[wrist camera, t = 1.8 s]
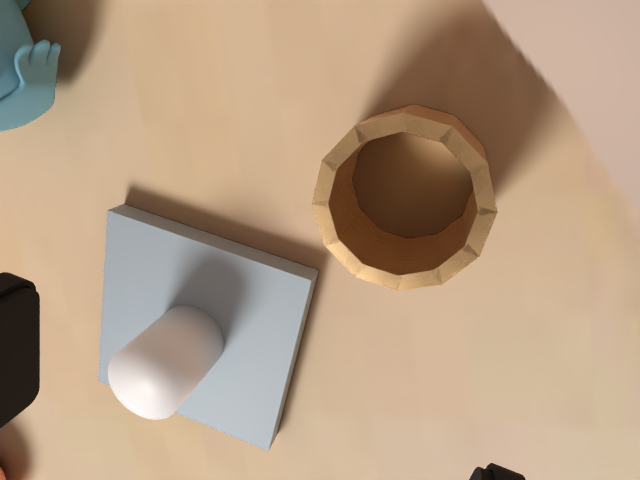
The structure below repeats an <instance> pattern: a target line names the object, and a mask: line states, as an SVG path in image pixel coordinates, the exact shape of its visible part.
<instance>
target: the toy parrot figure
mask: <svg viewBox="0 0 640 480" xmlns="http://www.w3.org/2000/svg"><path fill="white" fill-rule="evenodd" d="M29 2H30V0H0V132H1V131H5V130H10V129H14V128H17V127H20V126H23V125H25V124H27V123H29V122H31V121H33V120H35V119H36V118H38V117H39V116H41V115H42V114H43V113H45V112H46V111H47V110H48V109H49V108H50V107H51V106H52V105H53V103H54V99H55V86H56V83H57V82H56V74H57V67H58V57H59V54H60V51H61V46H60V45H59V44H58V43H54V44H53V45H52V46H50V42H49V41H48V40H46V39H44V40H41V41H40V42H38V43H37V44H35V45H34V42H33V40H32V37H31V35H30V32H29V30H28V27H27V24H26V22H25V19H24V17H23V15H22V13H21V11H22V10H23V9H24V8H25V7H26V5H27V4H28V3H29Z"/></svg>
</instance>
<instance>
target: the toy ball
mask: <svg viewBox="0 0 640 480" xmlns="http://www.w3.org/2000/svg"><path fill="white" fill-rule="evenodd" d="M0 480H6V478H5V475H4V472H3V470H2V469H1V467H0Z"/></svg>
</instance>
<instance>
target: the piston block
mask: <svg viewBox="0 0 640 480" xmlns="http://www.w3.org/2000/svg"><path fill="white" fill-rule="evenodd" d="M318 272H319V270H317V269H314V268H311V267H308V266H305V265H302V264H299V263H296V262H293V261H290V260H287V259H284V258H281V257H278V256H275V255H273V254H270V253H267V252H264V251H261V250H258V249H255V248H252V247H249V246H246V245H243V244H240V243H237V242H234V241H231V240H228V239H225V238H222V237H219V236H217V235H214V234H211V233H208V232H205V231H202V230H199V229H196V228H193V227H190V226H187V225H184V224H181V223H178V222H175V221H172V220H169V219H166V218H164V217H161V216H158V215H155V214H152V213H149V212H146V211H143V210H140V209H137V208H134V207H131V206H128V205H125V204H123V205H120V206H118V207H115V208H113V209H110V210H108V212H107V230H106V248H105V266H104V284H103V302H102V320H101V338H100V356H99V375H98V381H100V382H103V383H105V384H107V385H110V386H111V388H112V390H113V392H114V394H115V395H116V397H117V398H118V399H119V401H120V402H121V403H122V404H123V405H124V406H125V407H126V408H128V409H129V410H130V411H132V412H133V413H135V414H137V415H139V416H141V417H144V418H148V419H164V418H167V417H169V416H171V415H172V414H173V413H174V412H175V413H177V414H180V415H182V416H185V417H187V418H189V419H192V420H194V421H197V422H199V423H201V424H204V425H206V426H209V427H211V428H213V429H216V430H218V431H221V432H223V433H226V434H228V435H230V436H233V437H235V438H238V439H240V440H242V441H245V442H247V443H250V444H252V445H254V446H257V447H259V448H262V449H264V450H266V451H269V449H270V447H271V445H272V443H273V441H274V439H275V437H276V435H277V431H278V427H279V423H280V420H281V416H282V412H283V408H284V404H285V400H286V396H287V392H288V388H289V385H290V381H291V377H292V373H293V369H294V365H295V361H296V357H297V353H298V350H299V346H300V342H301V338H302V334H303V330H304V326H305V322H306V318H307V315H308V311H309V307H310V303H311V299H312V295H313V291H314V287H315V283H316V280H317V276H318Z"/></svg>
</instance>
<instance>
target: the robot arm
mask: <svg viewBox="0 0 640 480" xmlns="http://www.w3.org/2000/svg"><path fill="white" fill-rule="evenodd" d="M39 382H40V298H39V294H38V292H36V287H35V285H34V283H32V282H31V281H28V280H26V279H23V278H21V277H18V276H16V275H13V274H11V273H5V272H3V273H0V428H1V427H3V426H4V425H5V424H6V423H8V422H9V421H10V420H11V419H13V418H14V417H15V416H17V415H18V414H19V413H20V412H22V411H23V410H24V409H25V408H27V407H28V406H29V405H30V404H31V403H32V402H33V401H34V399H35V398H36V396H37V394H38V392H39ZM469 480H525V477H524V476H523V475H521V474H519V473H516V472H514V471H511V470H508V469H506V468H503V467H501V466H498V465H496V464H493V463H490V464H489V465H488V466H487V467H486V469H483V468H481V467H477V468H476V469H475V470H474V472H473V474H472V476H471V477H470V479H469Z"/></svg>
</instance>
